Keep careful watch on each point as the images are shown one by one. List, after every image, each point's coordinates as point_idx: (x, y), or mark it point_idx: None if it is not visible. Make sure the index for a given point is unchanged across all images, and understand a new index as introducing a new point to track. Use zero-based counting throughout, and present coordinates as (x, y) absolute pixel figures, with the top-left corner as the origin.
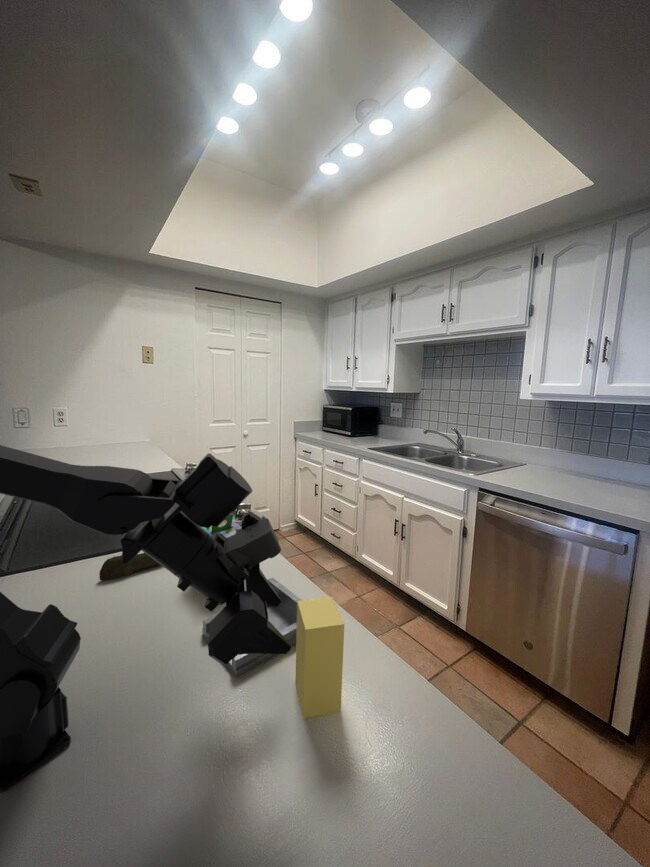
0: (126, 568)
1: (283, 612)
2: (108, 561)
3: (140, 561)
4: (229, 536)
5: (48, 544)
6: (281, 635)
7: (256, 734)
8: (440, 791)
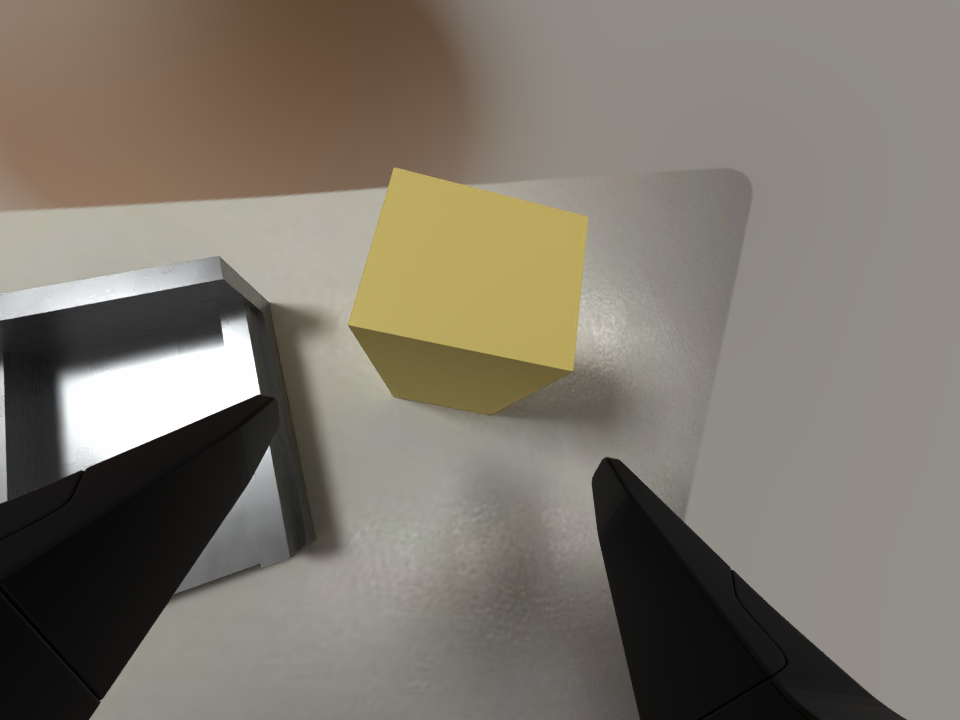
0: None
1: (125, 340)
2: None
3: None
4: None
5: None
6: (662, 519)
7: (487, 520)
8: (664, 276)
